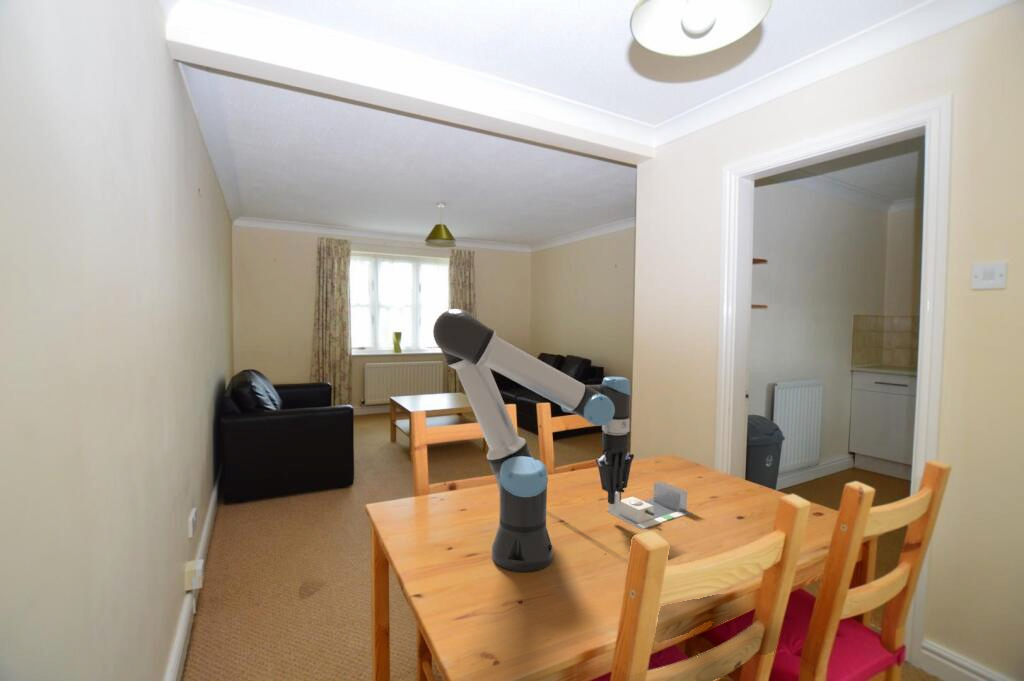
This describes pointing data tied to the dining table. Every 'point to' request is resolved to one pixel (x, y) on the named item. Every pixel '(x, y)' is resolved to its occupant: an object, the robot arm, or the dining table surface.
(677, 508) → the upright metal panel
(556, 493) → the dining table surface
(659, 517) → the gauge board
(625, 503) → the gauge carriage
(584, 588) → the dining table surface
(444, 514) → the dining table surface
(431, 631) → the dining table surface
